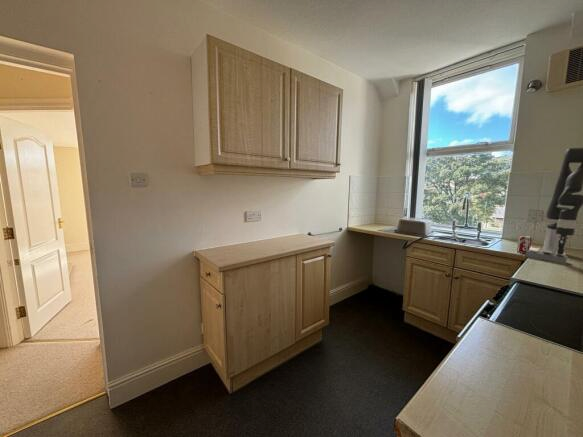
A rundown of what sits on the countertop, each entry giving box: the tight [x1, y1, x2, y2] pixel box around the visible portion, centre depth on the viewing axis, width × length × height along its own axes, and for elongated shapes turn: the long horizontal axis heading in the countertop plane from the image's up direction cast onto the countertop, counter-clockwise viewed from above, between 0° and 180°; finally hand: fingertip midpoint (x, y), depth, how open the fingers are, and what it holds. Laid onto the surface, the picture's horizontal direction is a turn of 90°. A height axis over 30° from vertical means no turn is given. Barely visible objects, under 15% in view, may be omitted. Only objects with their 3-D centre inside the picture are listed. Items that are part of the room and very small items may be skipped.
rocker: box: [529, 245, 540, 252], centre depth 162 cm, size 6×4×1 cm, turn 126°
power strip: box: [525, 250, 569, 266], centre depth 158 cm, size 8×18×5 cm, turn 37°
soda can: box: [516, 235, 533, 254], centre depth 173 cm, size 7×7×12 cm
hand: (560, 254), depth 151 cm, fingers closed
